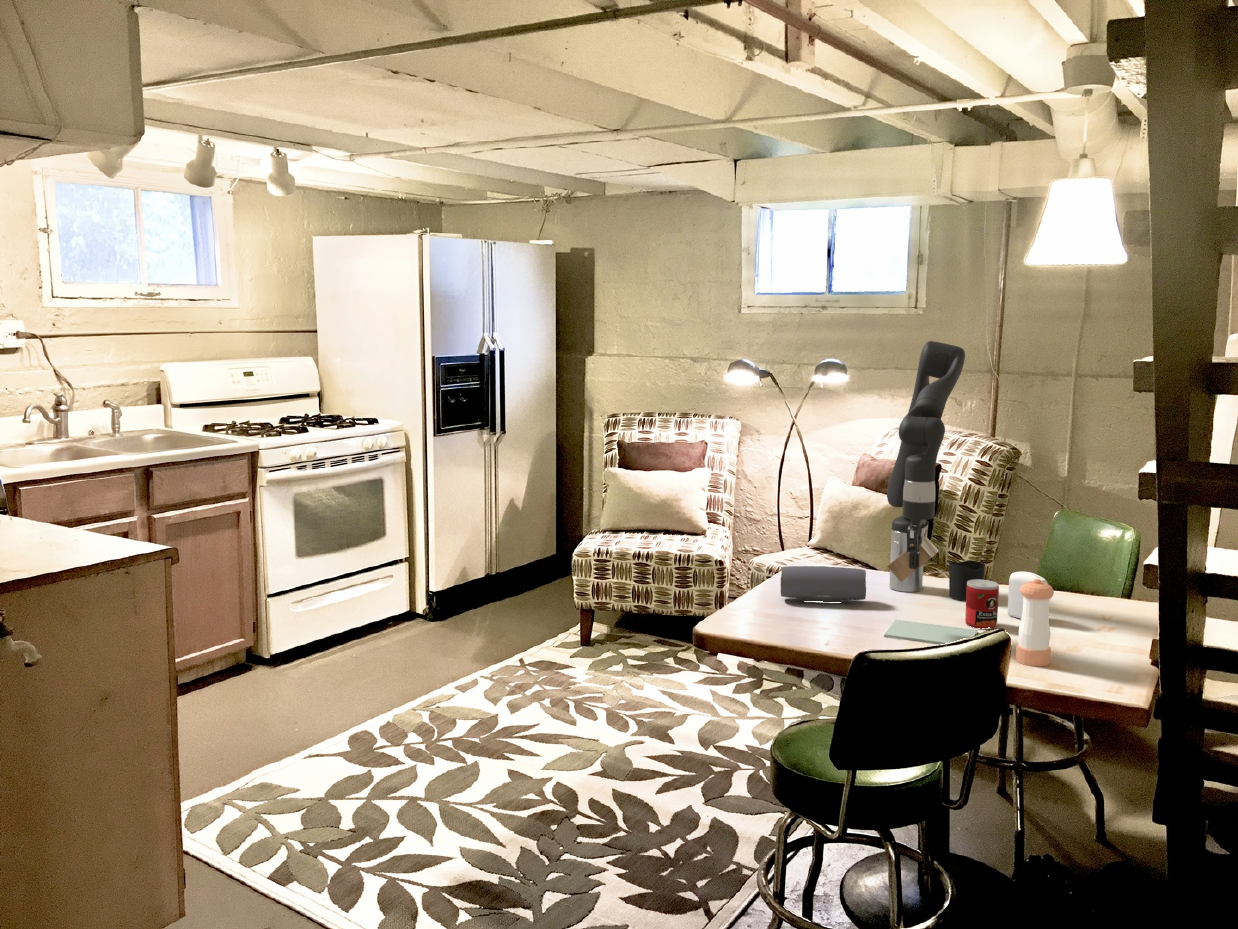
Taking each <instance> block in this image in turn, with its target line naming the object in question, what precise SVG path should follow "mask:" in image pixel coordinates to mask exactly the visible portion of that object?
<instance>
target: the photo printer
mask: <svg viewBox="0 0 1238 929" xmlns="http://www.w3.org/2000/svg"><path fill="white" fill-rule="evenodd" d="M1034 579H1040V580H1041V582H1044V583H1046V584H1048V585H1049V583H1048V580H1046V578H1044V577H1043V576H1040V575H1038V574H1036V573H1034V572H1030V571H1015V572H1012V573H1011V574H1010V576H1009V579H1008V594H1007V595H1008V597H1007V615H1008V616H1010V617H1014V618H1017V619H1020V620H1021V618H1022V613H1023V598H1024V596H1023V595H1022V594H1021V592H1020V588H1021V586H1022V585H1023V584H1024V583H1026V582H1029V581H1034Z"/></svg>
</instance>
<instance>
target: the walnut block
mask: <svg viewBox="0 0 1238 929" xmlns="http://www.w3.org/2000/svg"><path fill="white" fill-rule="evenodd" d="M918 541H919V540H918ZM912 548H915V545H914V544H913V545H912ZM939 551H940V550H939V549H938V548H937V546H935V545H934V543H933V542H932V541H931V540H930V539H929V538H928V536H927V537H925V536H924V537H923V541H922V544H921V545H920V553H919V567H921V566H922V565H923V566H924V564H926V563H927V562H928V561H929V560H931V558H933V557H934V556H936V554H937V553H938V552H939ZM909 554H910V553H909V552H907V550H906V551H905V552H904V553H902V554H901V555H900V556H899V557H898V558H896V559H895V560H894V561H893V562H892V563H889V564H888V565H887V566H886V567H887V569H888V570H889V571H890V570H891V572H892V573H893V574H894V575H895V576H896V577H897V578H898V579H899V581H900V582H902V581H903V580H904V579H906V578H907V577H908V576H909V575H911V574H912V573H913V572H914V571H916V570H917V569H911V568H909Z"/></svg>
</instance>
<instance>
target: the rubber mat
mask: <svg viewBox="0 0 1238 929" xmlns="http://www.w3.org/2000/svg"><path fill="white" fill-rule="evenodd" d="M977 633H978V629H974V628H973V629H972V628H965V627H956V626H949V625H941V624H935V623H934V624H933V623H928V622H927V623H926V622H917V621H912V620H911V621H910V620H904V619H895V620H894V621H893V623H892V624H891V625H890V626H889V628H888V629H887V630H886V631H885V633H884V634H883V635H884V638H891V639H899V640H905V641H911V642H912V641H913V642H920V643H928V644H935V645H941V644H945V643H950V642H954V641H957V640H960V639H963V638H969V637H971V636H974V635H975V634H976V635H977Z"/></svg>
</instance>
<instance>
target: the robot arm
mask: <svg viewBox="0 0 1238 929" xmlns="http://www.w3.org/2000/svg"><path fill="white" fill-rule="evenodd" d="M965 360H966V352H965V350H964V348H962V347H960V346H957V345H952V344H949V343H946V342H945V343H944V342H940V341H933V340H929V341H927V342H926V343H924V345H923V347H922V349H921V353H920V356H919V361H918V366H917V373H916V376H915V384H914V389H913V393H912V398H911V401H910V405H909V409H908V412H907V414H906V415H905V416H904V417H903V419H902V420H901V422H900V424H899V426H898V427H899V428H898V437H899V440H900V446H899V450H898V453H897V457H896V460H895V462H894V466H893V468H892V471H891V473H890V477H889V480H888V483H887V484H888V485H887V487H886V488H887V490H886V498H887V502H888V504H889V505H890V506H891V507H893V508H902V514H901V515H900V516H898V517H896V518H893V520H892V522H891V532H890V534H891V538H890V540H891V542H890V559H889V560H890V563H892V562H893V561H894V560H895V559H896V558H898V557H899V556H900V555H901V554H902V553H904V552H905V551H906V550H907V552H909V553H910V554H909V568H911V569H917V570H916V571H914V572H913V573H912V574H911V575H909V576H908V577H907V578H906V579H904V580H903V581H902V582H900V581H899V579H898V578H897V577H896V576H895V575H894V574H893V573H892V572H891V570H890V569H889V589H890V590H891V589H892V590H894V591H898V592H907V593H908V592H909V593H915V592H920V591H922V590H923V577H924V564H923V565H922V566H921V567H919V553H920V545H921V544H922V541H923V537H924V536H925V537H927V538H928V534H929V533H928V532H929V531H928V530H929V524H930V523H929V521H930V520H932V519H934V518H935V511H936V510H935V506H936V464H937V460H938V459H937V458H938V454H939V451H940V448H941V445H942V442H943V440H944V437H945V433H946V427H945V423H944V421H943V420H942V417H943V414H944V411H945V408H946V404H947V401H948V398H949V397H950V396H951V393H952V391H953V389H954V388H955V387H956V384H957V382H958V380H959V379H960V376H961V374H962V371H963V368H964V364H965ZM930 377H931V378H935V379H937V380H935V381H932V382H930ZM928 520H929V521H928ZM918 540H919V541H918ZM913 544H914V545H915V548H912V545H913ZM890 563H889V564H890Z"/></svg>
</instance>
